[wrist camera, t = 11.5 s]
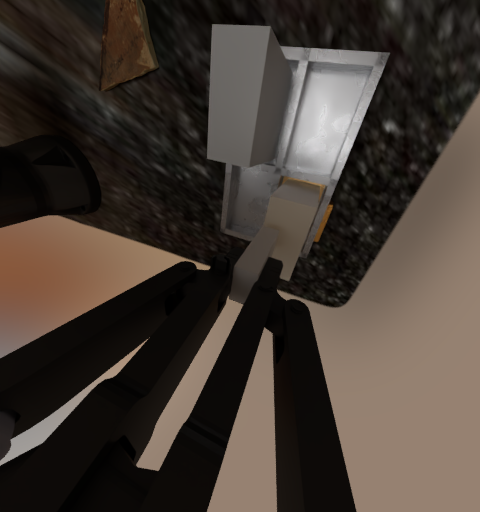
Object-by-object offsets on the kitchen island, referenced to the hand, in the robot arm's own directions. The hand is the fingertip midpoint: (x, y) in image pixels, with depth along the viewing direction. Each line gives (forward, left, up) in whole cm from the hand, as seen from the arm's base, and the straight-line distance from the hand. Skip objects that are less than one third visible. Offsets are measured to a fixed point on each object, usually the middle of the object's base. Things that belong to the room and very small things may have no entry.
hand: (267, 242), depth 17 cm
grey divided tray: (-2, +4, -13) cm, 14 cm away
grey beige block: (+1, -1, -12) cm, 12 cm away
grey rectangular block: (-5, +9, -12) cm, 16 cm away
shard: (-25, +13, -13) cm, 31 cm away
